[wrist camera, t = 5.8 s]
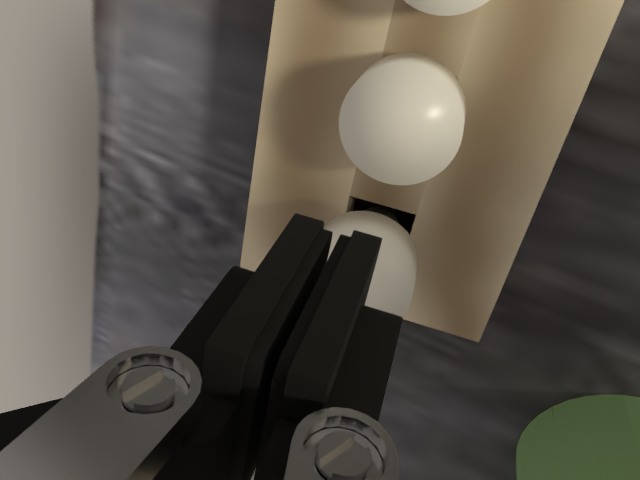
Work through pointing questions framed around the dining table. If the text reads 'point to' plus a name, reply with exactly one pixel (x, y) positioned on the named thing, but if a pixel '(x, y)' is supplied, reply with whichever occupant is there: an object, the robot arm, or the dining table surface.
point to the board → (475, 149)
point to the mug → (583, 441)
